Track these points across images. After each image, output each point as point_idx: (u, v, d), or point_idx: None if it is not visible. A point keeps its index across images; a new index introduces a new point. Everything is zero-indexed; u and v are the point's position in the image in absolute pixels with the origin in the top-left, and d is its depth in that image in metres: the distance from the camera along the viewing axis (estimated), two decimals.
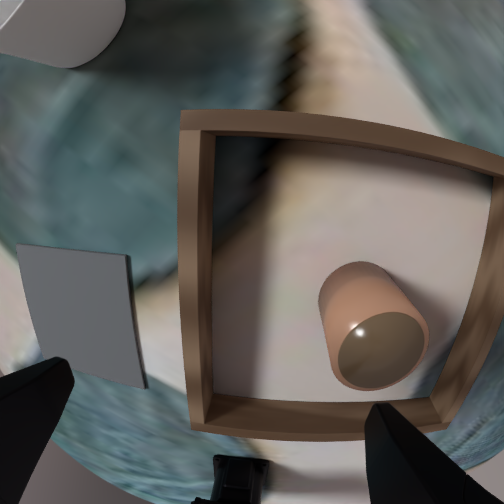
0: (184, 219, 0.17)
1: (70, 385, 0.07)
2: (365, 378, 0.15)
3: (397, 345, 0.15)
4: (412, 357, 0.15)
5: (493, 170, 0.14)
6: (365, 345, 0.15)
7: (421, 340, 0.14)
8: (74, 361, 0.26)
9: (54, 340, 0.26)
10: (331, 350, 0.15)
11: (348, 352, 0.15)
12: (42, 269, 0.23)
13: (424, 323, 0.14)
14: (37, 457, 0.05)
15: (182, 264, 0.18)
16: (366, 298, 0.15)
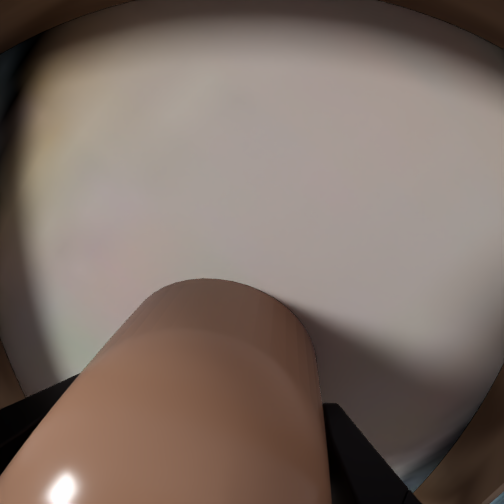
0: None
1: None
2: None
3: None
4: None
5: None
6: None
7: None
8: None
9: None
10: None
11: None
12: None
13: None
14: None
15: None
16: (42, 447, 0.02)
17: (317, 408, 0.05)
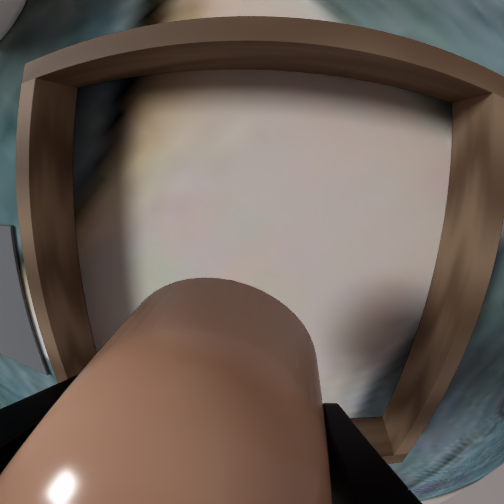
0: (20, 173, 0.12)
1: None
2: None
3: None
4: None
5: (431, 67, 0.09)
6: None
7: None
8: None
9: None
10: None
11: None
12: None
13: None
14: None
15: (21, 224, 0.12)
16: (43, 445, 0.03)
17: (317, 407, 0.05)
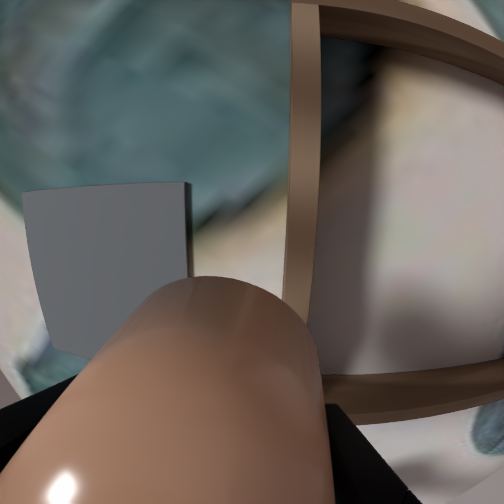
0: (302, 100, 0.11)
1: None
2: None
3: None
4: None
5: None
6: None
7: None
8: (96, 349, 0.21)
9: (68, 321, 0.20)
10: None
11: None
12: (57, 220, 0.18)
13: None
14: None
15: (298, 163, 0.12)
16: (42, 445, 0.02)
17: (320, 406, 0.05)
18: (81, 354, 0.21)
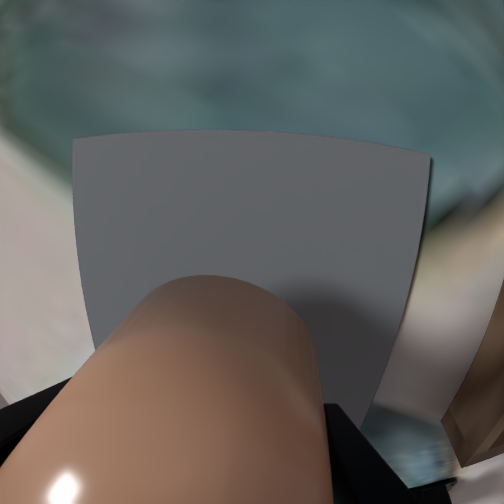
0: None
1: None
2: None
3: None
4: None
5: None
6: None
7: None
8: None
9: None
10: None
11: None
12: (154, 191, 0.10)
13: None
14: None
15: None
16: (39, 443, 0.02)
17: (318, 405, 0.05)
18: None
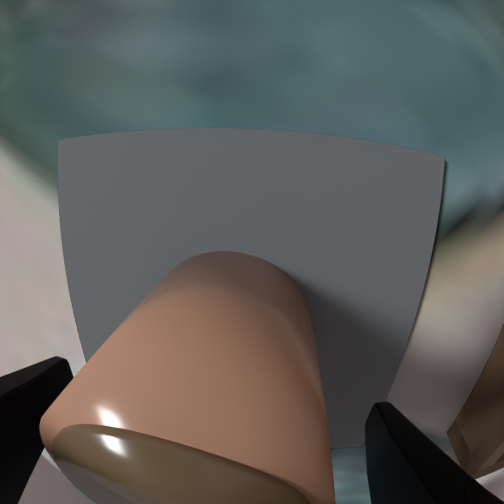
0: None
1: None
2: None
3: None
4: None
5: None
6: (106, 482, 0.04)
7: None
8: None
9: None
10: None
11: (78, 478, 0.04)
12: (143, 196, 0.09)
13: (306, 479, 0.03)
14: (37, 457, 0.05)
15: None
16: (107, 359, 0.04)
17: (312, 346, 0.07)
18: None
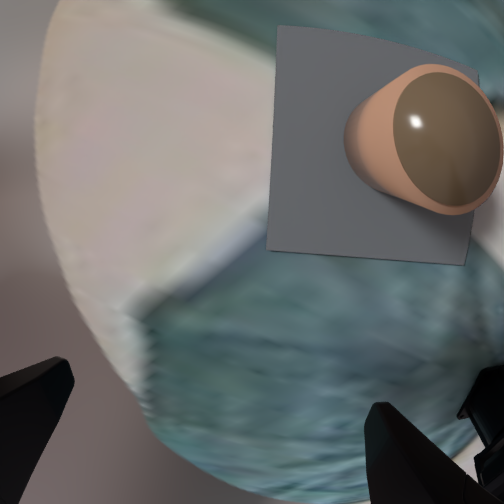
0: None
1: (70, 385, 0.07)
2: (438, 181, 0.09)
3: (468, 127, 0.08)
4: (490, 156, 0.09)
5: None
6: (428, 115, 0.08)
7: (494, 129, 0.08)
8: (358, 237, 0.17)
9: (323, 196, 0.17)
10: (381, 122, 0.09)
11: (407, 122, 0.09)
12: (344, 62, 0.14)
13: (490, 106, 0.08)
14: (37, 457, 0.05)
15: None
16: None
17: None
18: (325, 249, 0.18)
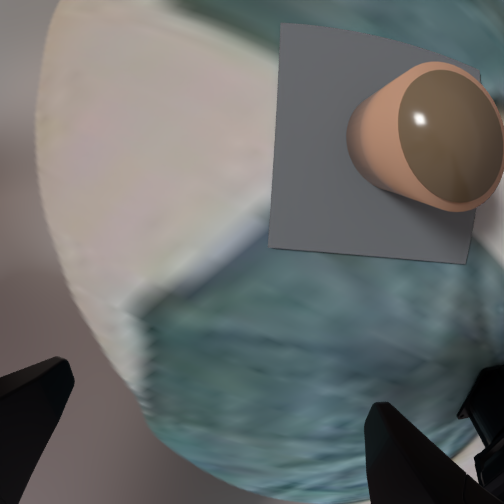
0: None
1: (70, 385, 0.07)
2: (443, 177, 0.09)
3: (472, 124, 0.08)
4: (494, 153, 0.08)
5: None
6: (432, 111, 0.08)
7: (497, 127, 0.08)
8: (360, 235, 0.17)
9: (325, 193, 0.17)
10: (386, 119, 0.09)
11: (412, 119, 0.09)
12: (347, 60, 0.14)
13: (493, 104, 0.08)
14: (37, 457, 0.05)
15: None
16: None
17: None
18: (327, 247, 0.18)
